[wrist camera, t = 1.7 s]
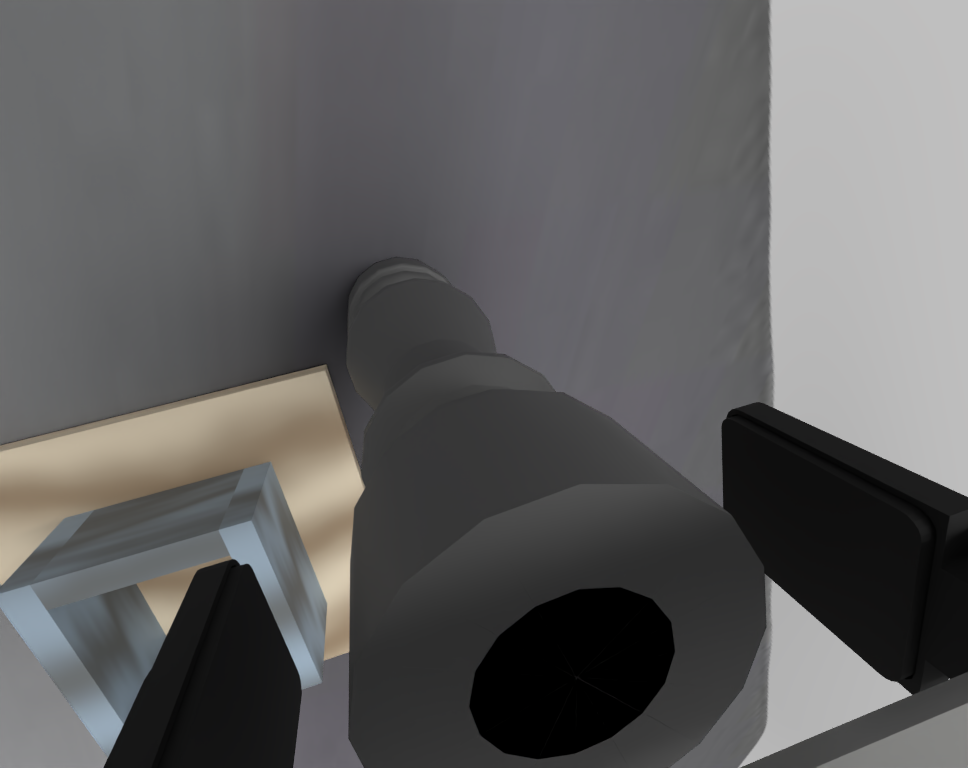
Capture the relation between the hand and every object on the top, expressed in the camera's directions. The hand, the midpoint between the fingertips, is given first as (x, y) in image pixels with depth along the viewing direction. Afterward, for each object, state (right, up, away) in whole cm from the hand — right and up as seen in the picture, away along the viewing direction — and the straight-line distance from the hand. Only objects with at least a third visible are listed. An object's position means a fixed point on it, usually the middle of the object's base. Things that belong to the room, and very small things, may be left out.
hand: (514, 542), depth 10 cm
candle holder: (-5, +7, +20) cm, 22 cm away
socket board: (-18, -8, +22) cm, 29 cm away
